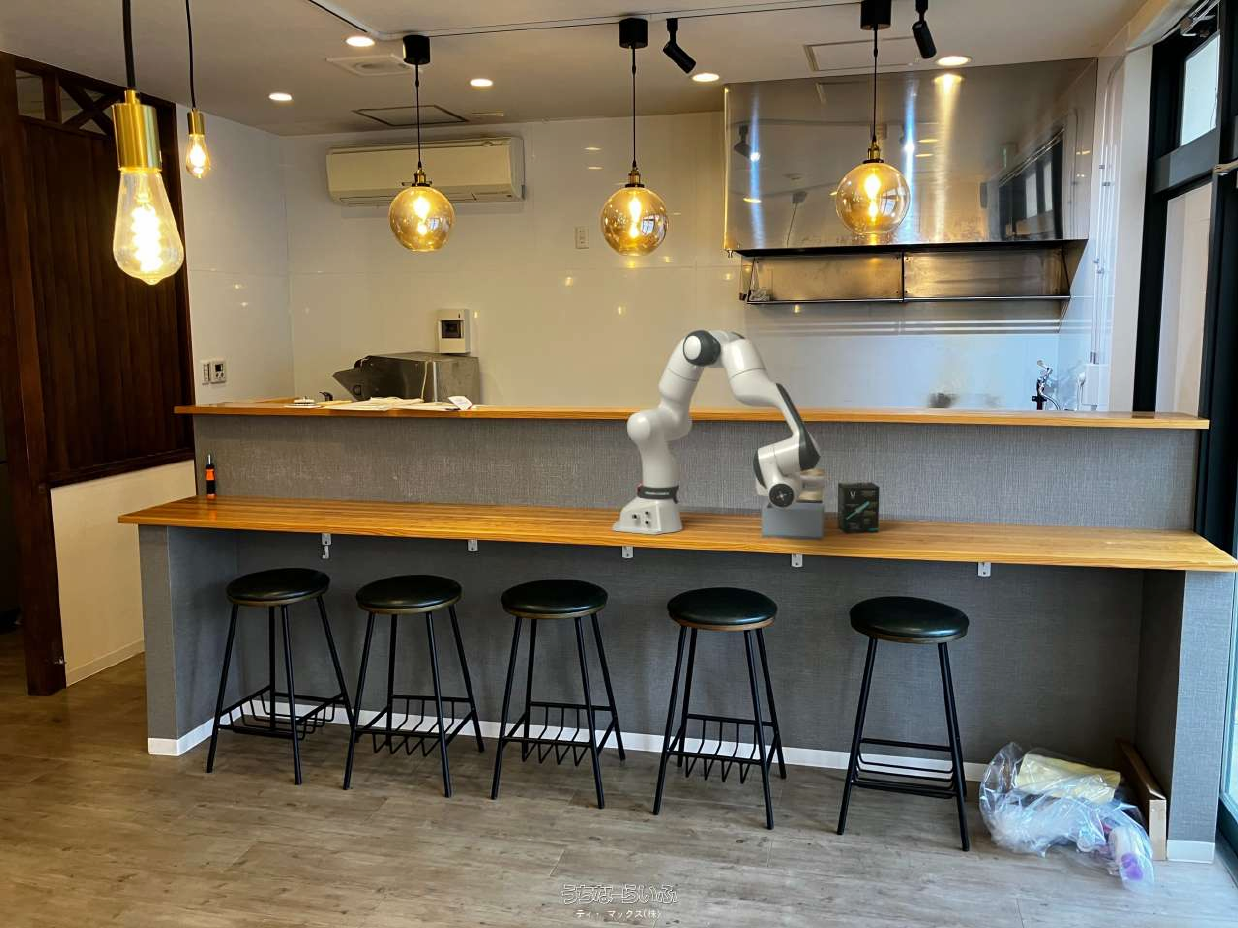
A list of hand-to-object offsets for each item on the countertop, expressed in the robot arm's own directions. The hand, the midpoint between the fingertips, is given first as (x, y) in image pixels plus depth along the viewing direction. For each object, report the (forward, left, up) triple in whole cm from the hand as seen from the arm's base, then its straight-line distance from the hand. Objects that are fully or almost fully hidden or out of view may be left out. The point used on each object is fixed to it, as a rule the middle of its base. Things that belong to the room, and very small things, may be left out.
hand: (791, 477), depth 288 cm
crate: (0, +5, -19) cm, 19 cm away
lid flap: (0, +12, -9) cm, 15 cm away
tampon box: (+19, +16, -19) cm, 31 cm away
